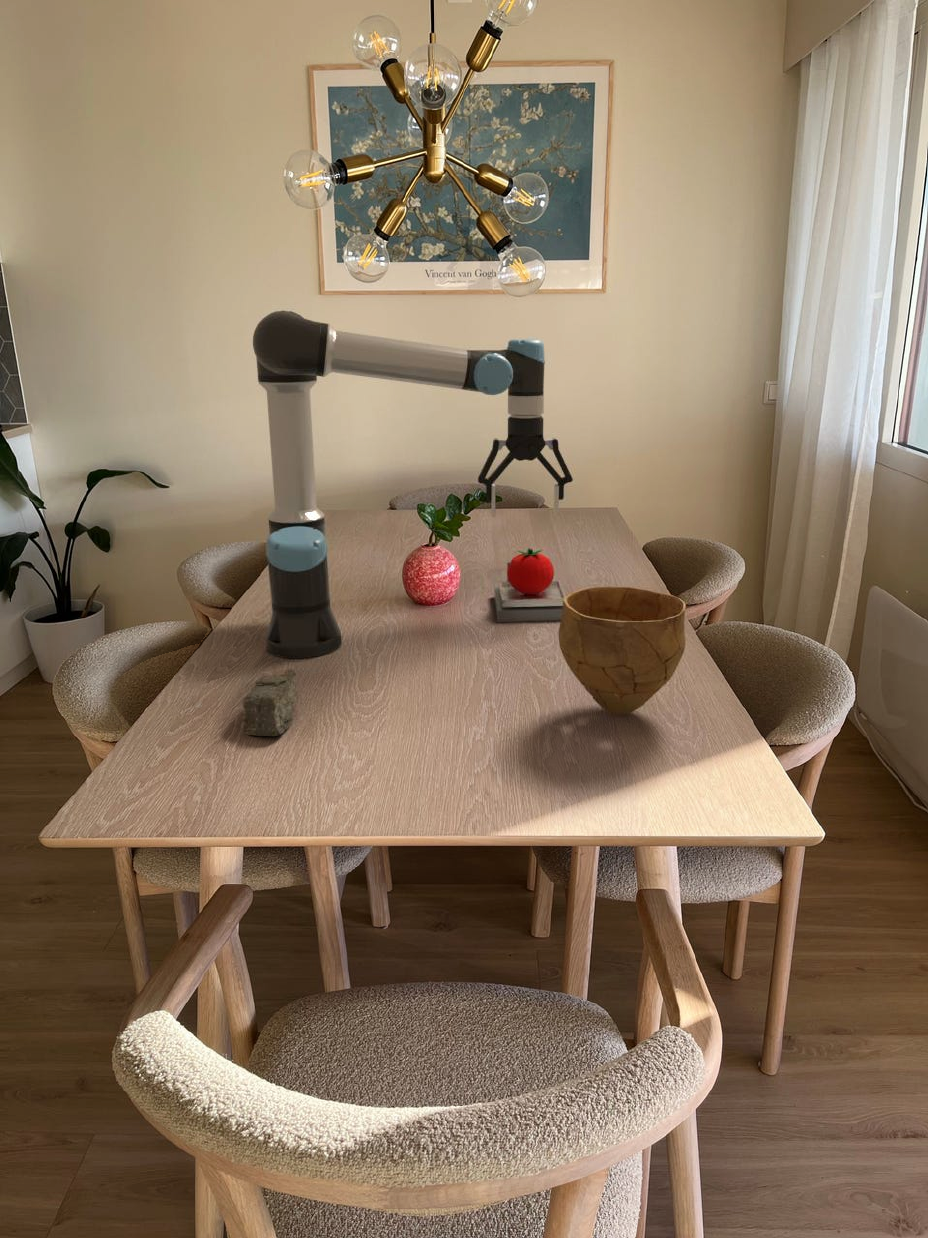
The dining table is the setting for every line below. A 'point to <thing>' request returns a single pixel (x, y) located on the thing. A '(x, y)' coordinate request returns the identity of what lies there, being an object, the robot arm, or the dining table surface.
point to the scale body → (525, 610)
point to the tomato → (530, 572)
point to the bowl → (622, 643)
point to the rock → (270, 705)
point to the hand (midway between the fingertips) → (524, 515)
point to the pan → (532, 596)
